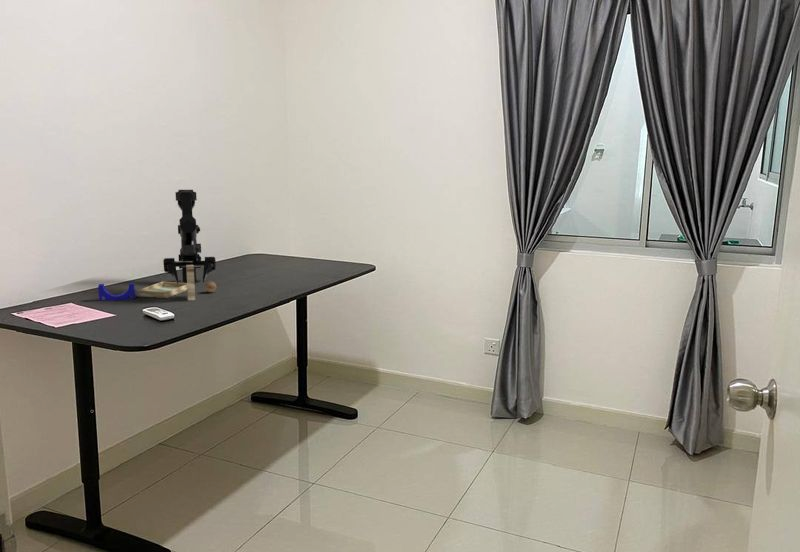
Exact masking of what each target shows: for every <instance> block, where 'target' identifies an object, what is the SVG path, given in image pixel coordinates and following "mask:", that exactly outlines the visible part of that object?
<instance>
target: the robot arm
mask: <svg viewBox="0 0 800 552" xmlns="http://www.w3.org/2000/svg"><path fill="white" fill-rule="evenodd" d="M197 200H198V199H197V192H196V191H194V189H178V191H175V201H177V206H178V208H179V209H180V210H181V217H180V218H179V224H177V234H178V235H179V237H180V249H179V254H178V260H175V257H165V258H163V260H162V262H163V272H165V273H167V274H170V275H171V276H172V277H173V279H174V282H177V284H178V283H187V272H186V265H194V284H196V283H197V282H201V279H198V272H197V271H198V270H197V269H200V268H202V267H203V274H202V283H204V284H205V282H206V279H207V278H208V275H209V274H210V273H212V272H213V271H215V270H216V268H217V267H216V266H217V265H216V257H215V256H204V260H202V257H201V256H200V254H201V253H202V243H197V242H198V241H197V234H199V233H200V232H201V227H200V226H199V224H197V219H196V218H195V217H194V216H193V209H194V207H195V206H196V201H197ZM177 268H178V269H179V270H182V273H181V274H182V275H181V276H182V280H180V281H179V277H178V272H177Z"/></svg>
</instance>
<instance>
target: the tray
mask: <svg viewBox="0 0 800 552" xmlns="http://www.w3.org/2000/svg"><path fill="white" fill-rule="evenodd" d="M184 292H188V291H187V283H180V282H178V284H177V282H176V281H173V282H172V281H161V282H157V283H154V284H150V285H149V286H145V287H143V288H140V289H137V290H135V297H141V298H154V297H156V299H170V298H172V297H174V295H175V296H177V295H180V294H181V293H184ZM169 297H170V298H169Z"/></svg>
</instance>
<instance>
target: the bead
mask: <svg viewBox="0 0 800 552" xmlns="http://www.w3.org/2000/svg"><path fill="white" fill-rule="evenodd" d="M204 289H205V292H207V293H209V294H210V293H211V294H212V293H214V292H215V291H216V289H217V285H216V282H214V281H207V282H206V283H204Z"/></svg>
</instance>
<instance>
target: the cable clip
mask: <svg viewBox="0 0 800 552" xmlns="http://www.w3.org/2000/svg"><path fill="white" fill-rule="evenodd" d="M97 285H98V286H97V288H98V299H99V302H105V301H109V302H110V301H126V300H127V301H128V300H135V298H136V288H135V282H129V283H128V289H126V291H124V292H121V293H118V294H113V293H110V291H108V290H107V288H106V287H105V284H104V283H99V284H97Z"/></svg>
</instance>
